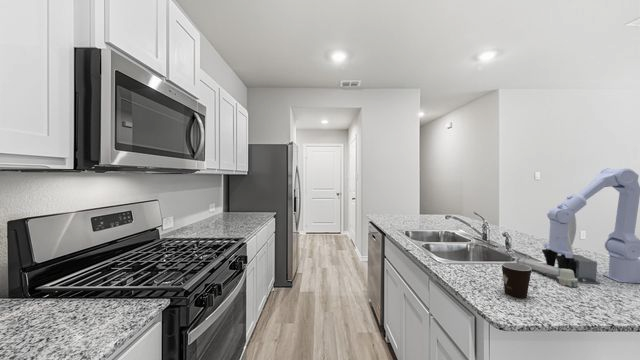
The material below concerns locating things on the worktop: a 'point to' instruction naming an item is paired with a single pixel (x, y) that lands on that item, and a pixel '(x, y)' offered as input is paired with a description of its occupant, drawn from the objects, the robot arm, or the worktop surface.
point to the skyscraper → (571, 234)
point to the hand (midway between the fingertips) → (556, 270)
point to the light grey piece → (552, 271)
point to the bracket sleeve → (584, 269)
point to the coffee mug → (516, 279)
